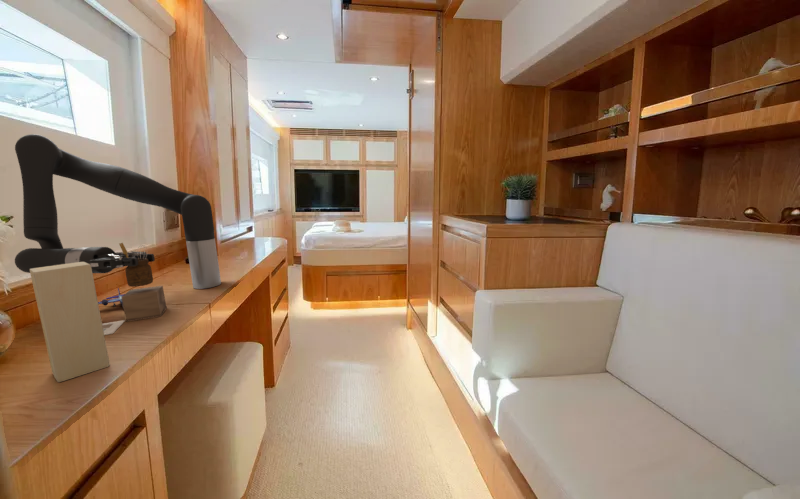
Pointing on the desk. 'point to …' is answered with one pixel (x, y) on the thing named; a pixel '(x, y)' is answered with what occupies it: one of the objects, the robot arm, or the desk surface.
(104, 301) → the toy airplane
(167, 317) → the desk surface
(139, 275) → the utensil holder
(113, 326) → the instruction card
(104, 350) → the toy refrigerator
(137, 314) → the walnut base block
